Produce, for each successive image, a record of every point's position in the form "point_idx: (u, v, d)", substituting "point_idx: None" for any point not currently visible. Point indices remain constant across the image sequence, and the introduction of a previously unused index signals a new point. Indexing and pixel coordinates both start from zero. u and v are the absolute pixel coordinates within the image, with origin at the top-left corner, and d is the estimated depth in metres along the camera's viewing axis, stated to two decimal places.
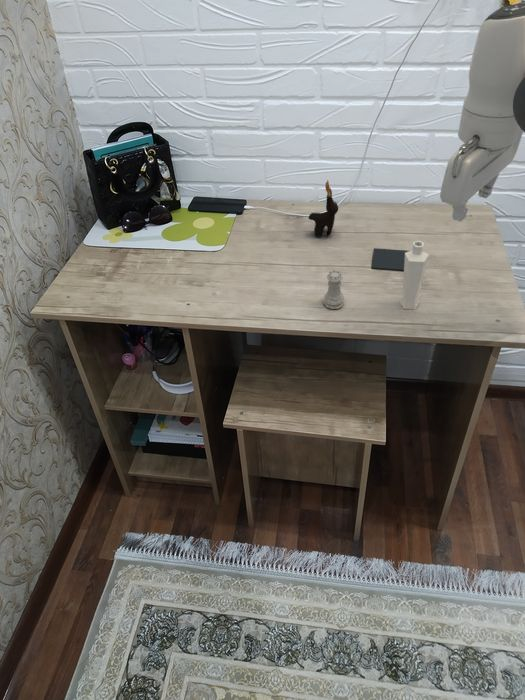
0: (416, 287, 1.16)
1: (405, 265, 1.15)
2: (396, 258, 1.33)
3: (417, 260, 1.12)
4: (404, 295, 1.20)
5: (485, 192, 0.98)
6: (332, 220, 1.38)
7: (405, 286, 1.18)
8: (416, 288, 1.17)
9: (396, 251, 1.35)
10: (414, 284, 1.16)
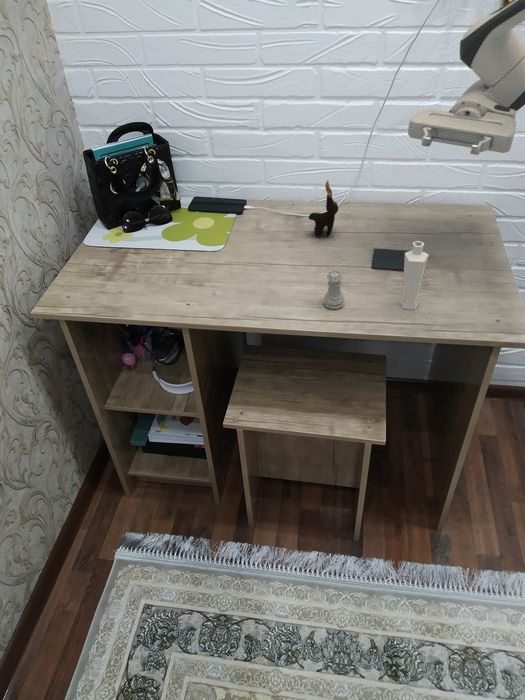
0: (416, 287, 1.16)
1: (405, 265, 1.15)
2: (396, 258, 1.33)
3: (417, 260, 1.12)
4: (404, 295, 1.20)
5: None
6: (332, 220, 1.38)
7: (405, 286, 1.18)
8: (416, 288, 1.17)
9: (396, 251, 1.35)
10: (414, 284, 1.16)
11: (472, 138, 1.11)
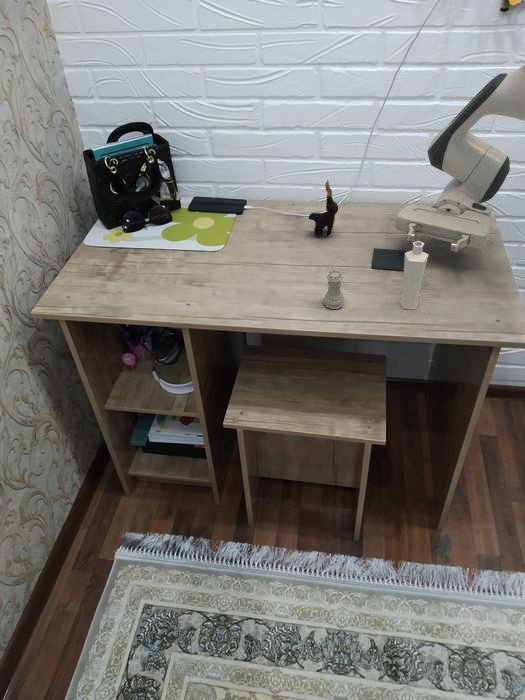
0: (416, 287, 1.16)
1: (405, 265, 1.15)
2: (396, 258, 1.33)
3: (417, 260, 1.12)
4: (404, 295, 1.20)
5: (452, 244, 1.21)
6: (332, 220, 1.38)
7: (405, 286, 1.18)
8: (416, 288, 1.17)
9: (396, 251, 1.35)
10: (414, 284, 1.16)
11: (452, 234, 1.24)
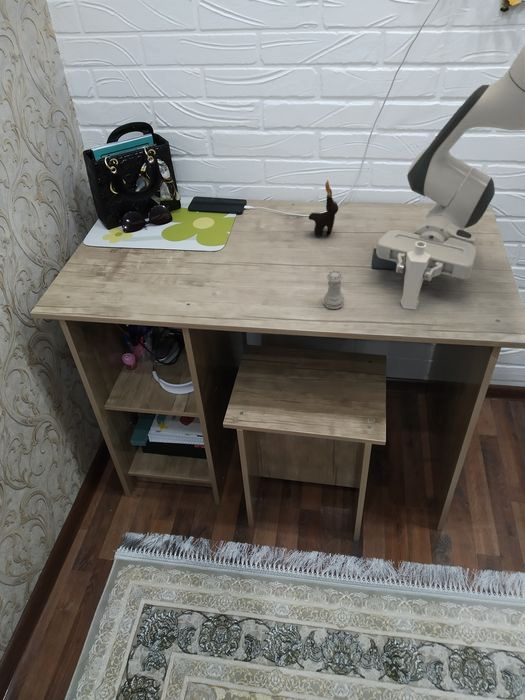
0: (416, 287, 1.16)
1: (406, 265, 1.15)
2: None
3: (419, 260, 1.12)
4: (404, 295, 1.19)
5: None
6: (332, 220, 1.38)
7: (406, 286, 1.18)
8: (417, 288, 1.17)
9: None
10: (415, 284, 1.16)
11: (435, 263, 1.17)
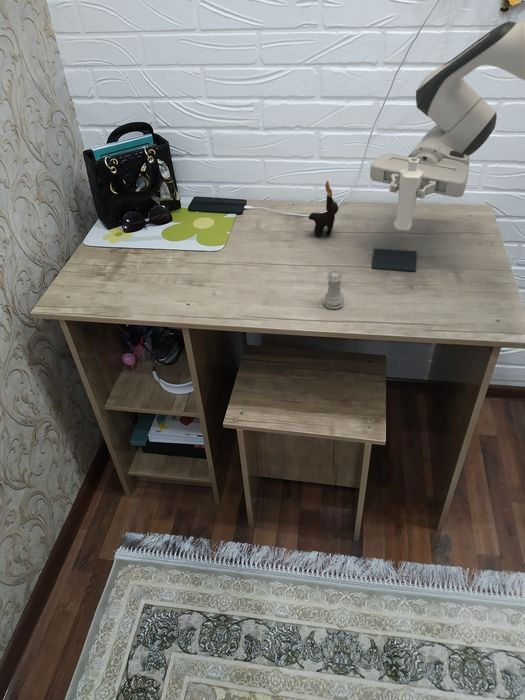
0: (410, 206, 1.17)
1: (400, 183, 1.16)
2: (396, 258, 1.33)
3: (412, 176, 1.13)
4: (398, 215, 1.20)
5: None
6: (332, 220, 1.38)
7: (399, 205, 1.18)
8: (410, 207, 1.18)
9: (396, 251, 1.35)
10: (409, 202, 1.17)
11: (428, 183, 1.18)
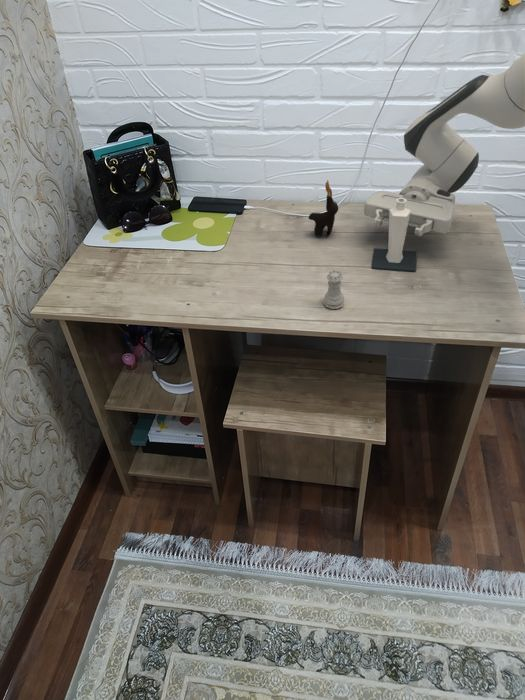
0: (399, 241, 1.28)
1: (390, 221, 1.27)
2: None
3: (400, 215, 1.24)
4: (389, 249, 1.31)
5: None
6: (332, 220, 1.38)
7: (390, 241, 1.29)
8: (400, 242, 1.28)
9: None
10: (398, 238, 1.28)
11: (417, 219, 1.29)
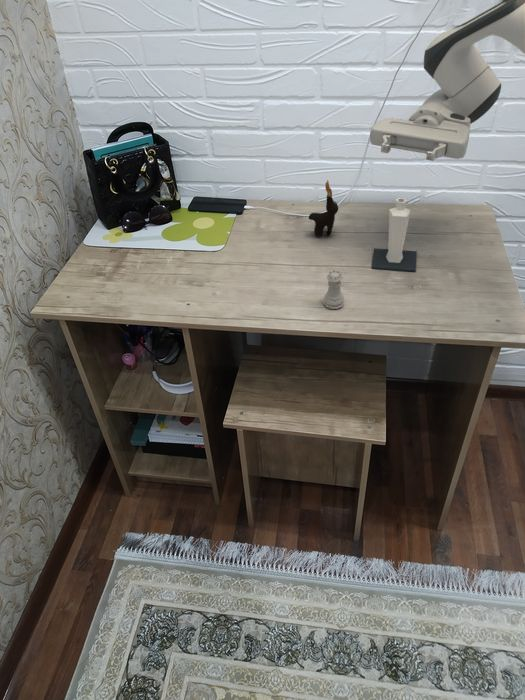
0: (399, 241, 1.28)
1: (390, 221, 1.27)
2: None
3: (400, 215, 1.24)
4: (389, 249, 1.31)
5: None
6: (332, 220, 1.38)
7: (390, 241, 1.29)
8: (400, 242, 1.28)
9: None
10: (398, 238, 1.28)
11: (429, 144, 1.17)
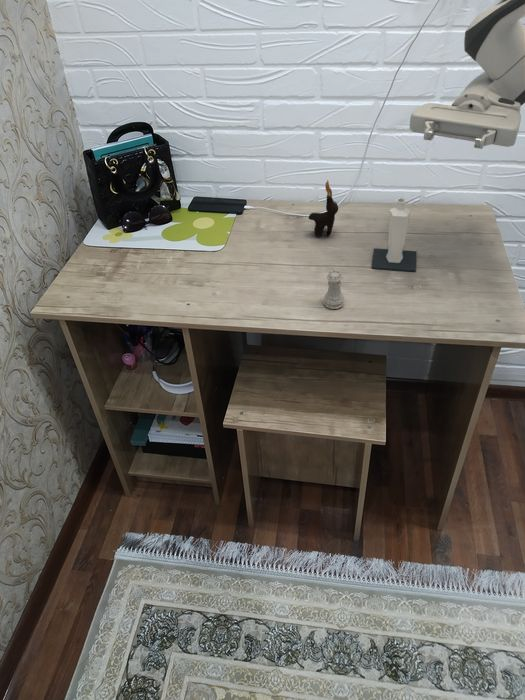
0: (399, 241, 1.28)
1: (390, 221, 1.27)
2: None
3: (400, 215, 1.24)
4: (389, 249, 1.31)
5: None
6: (332, 220, 1.38)
7: (390, 241, 1.29)
8: (400, 242, 1.28)
9: None
10: (398, 238, 1.28)
11: (475, 131, 1.08)
